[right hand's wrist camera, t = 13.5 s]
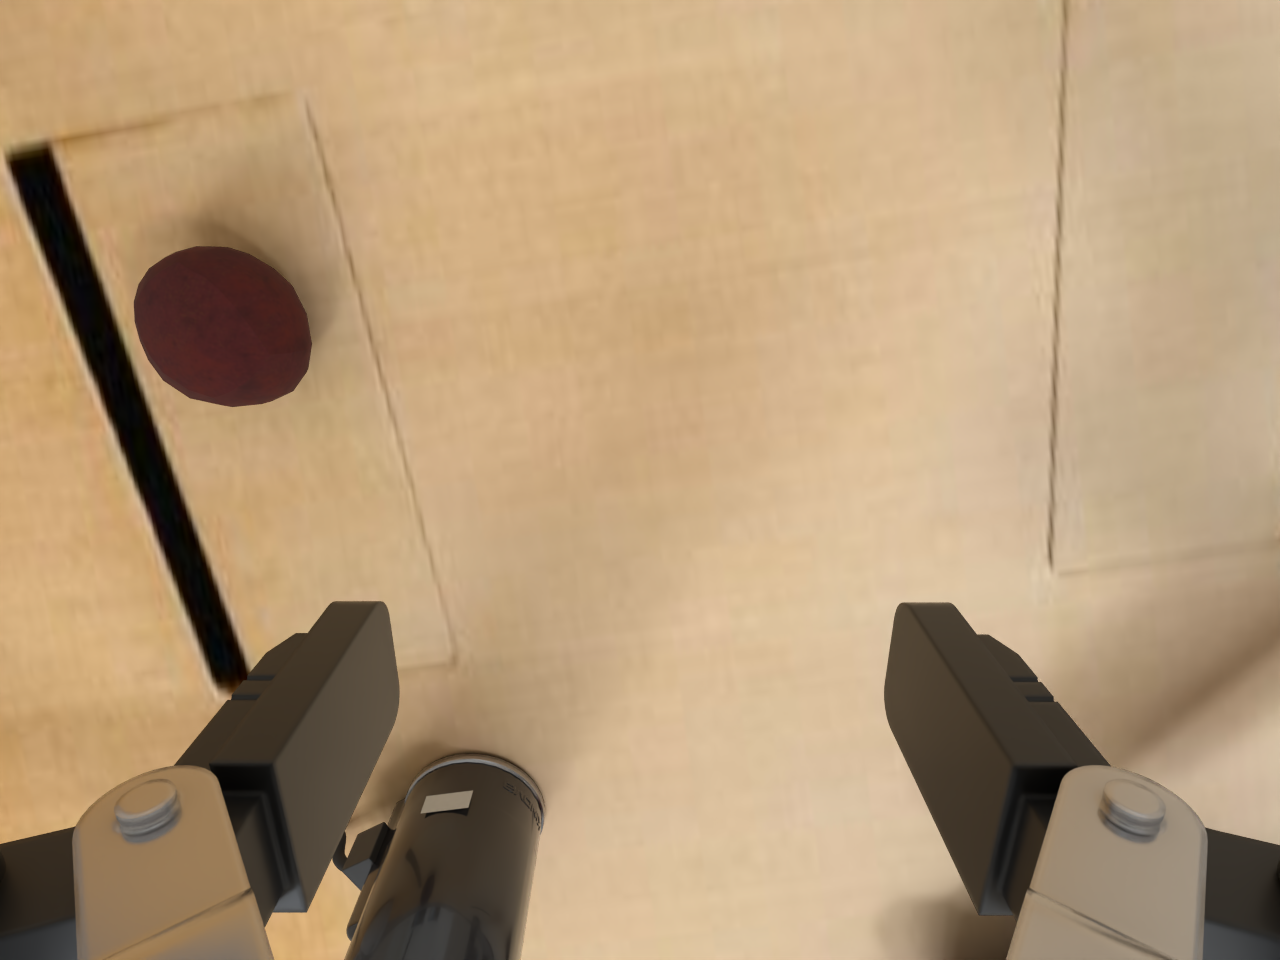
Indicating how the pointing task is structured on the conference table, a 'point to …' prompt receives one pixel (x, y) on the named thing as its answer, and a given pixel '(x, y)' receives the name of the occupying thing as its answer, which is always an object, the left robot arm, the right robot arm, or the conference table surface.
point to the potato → (222, 326)
